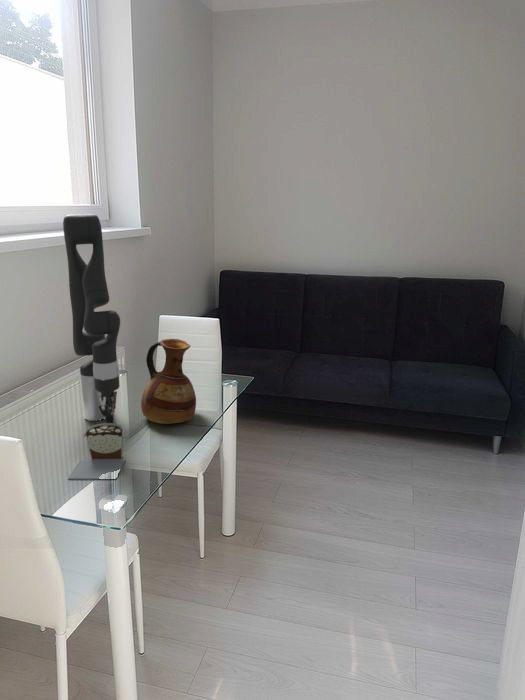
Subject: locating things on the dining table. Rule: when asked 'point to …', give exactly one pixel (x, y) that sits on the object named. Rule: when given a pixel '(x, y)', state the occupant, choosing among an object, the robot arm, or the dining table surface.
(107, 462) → the mat
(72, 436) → the dining table surface
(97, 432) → the food container
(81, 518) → the dining table surface
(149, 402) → the ceramic pitcher
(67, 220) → the robot arm
